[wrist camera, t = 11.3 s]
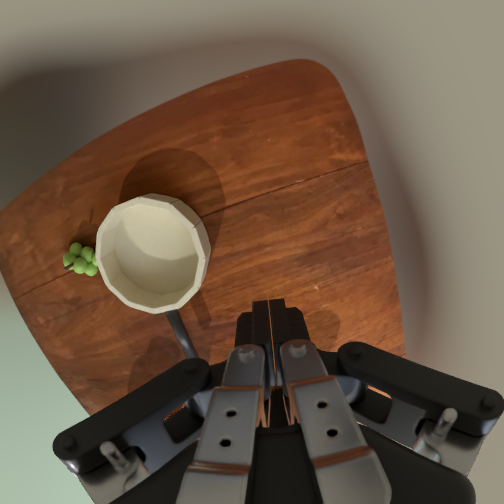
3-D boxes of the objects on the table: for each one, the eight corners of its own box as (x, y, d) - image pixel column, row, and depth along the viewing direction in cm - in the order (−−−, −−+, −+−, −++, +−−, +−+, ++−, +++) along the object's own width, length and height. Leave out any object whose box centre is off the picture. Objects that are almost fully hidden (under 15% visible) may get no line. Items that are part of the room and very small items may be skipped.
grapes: (67, 261, 36) (46, 274, 30) (71, 234, 35) (49, 244, 29) (102, 280, 37) (83, 296, 31) (108, 252, 35) (88, 265, 30)
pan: (99, 214, 34) (81, 220, 29) (190, 179, 33) (180, 181, 28) (159, 355, 40) (151, 374, 36) (244, 340, 39) (243, 359, 35)
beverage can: (263, 386, 42) (265, 443, 30) (302, 386, 42) (313, 442, 30) (259, 410, 43) (261, 465, 32) (296, 411, 44) (304, 463, 32)
